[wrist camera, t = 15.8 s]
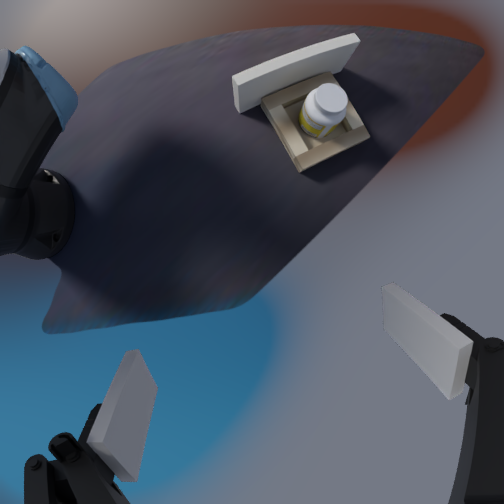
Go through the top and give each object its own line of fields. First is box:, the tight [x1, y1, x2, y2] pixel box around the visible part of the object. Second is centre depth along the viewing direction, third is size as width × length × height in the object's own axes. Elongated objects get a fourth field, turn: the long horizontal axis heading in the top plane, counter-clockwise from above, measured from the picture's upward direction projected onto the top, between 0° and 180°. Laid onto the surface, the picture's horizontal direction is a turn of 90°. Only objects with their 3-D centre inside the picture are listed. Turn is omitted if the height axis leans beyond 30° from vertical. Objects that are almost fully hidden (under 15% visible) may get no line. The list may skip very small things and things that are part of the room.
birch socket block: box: [261, 71, 370, 173], centre depth 40 cm, size 12×12×3 cm
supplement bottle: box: [298, 83, 348, 139], centre depth 36 cm, size 5×5×10 cm
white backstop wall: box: [232, 33, 360, 113], centre depth 36 cm, size 2×18×10 cm, turn 118°
